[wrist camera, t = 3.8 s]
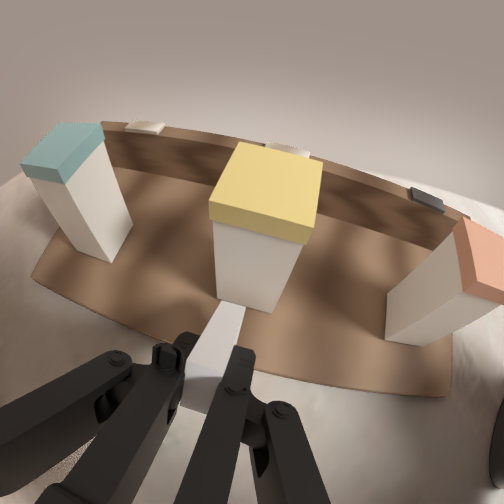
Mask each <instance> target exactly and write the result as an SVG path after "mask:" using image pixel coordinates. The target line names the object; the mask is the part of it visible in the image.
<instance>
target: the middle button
mask: <svg viewBox="0 0 504 504" xmlns="http://www.w3.org/2000/svg"><path fill="white" fill-rule="evenodd" d="M322 167H323V162H320V161H317V160H313V159H310V158H306V157H302V156H299V155H295V154H291V153H287V152H283V151H279V150H275V149H271V148H267V147H263V146H258V145H254V144H249V143H244V142H240V141H239V143H238V145H237V147H236V149H235V150H234V152H233V154H232V156H231V158H230V160H229V162H228V163H227V165H226V167H225V169H224V171H223V173H222V175H221V177H220V179H219V181H218V183H217V185H216V187H215V189H214V190H213V192H212V194H211V196H210V198H209V218H210V220H213V238H214V256H215V273H216V288H217V298H218V299H221V300H225V301H228V302H231V303H235V304H238V305H242V306H245V307H249V308H253V309H256V310H260V311H264V312H267V313H271V314H272V313H273V311H274V309H275V307H276V304H277V302H278V300H279V298H280V296H281V294H282V291H283V289H284V287H285V285H286V283H287V281H288V278H289V276H290V274H291V272H292V269H293V267H294V265H295V263H296V260H297V258H298V256H299V254H300V251H301V249H302V247H303V245H307V242H308V240H309V238H310V236H311V233H312V231H313V229H314V224H315V218H316V211H317V204H318V197H319V190H320V183H321V175H322Z"/></svg>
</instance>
